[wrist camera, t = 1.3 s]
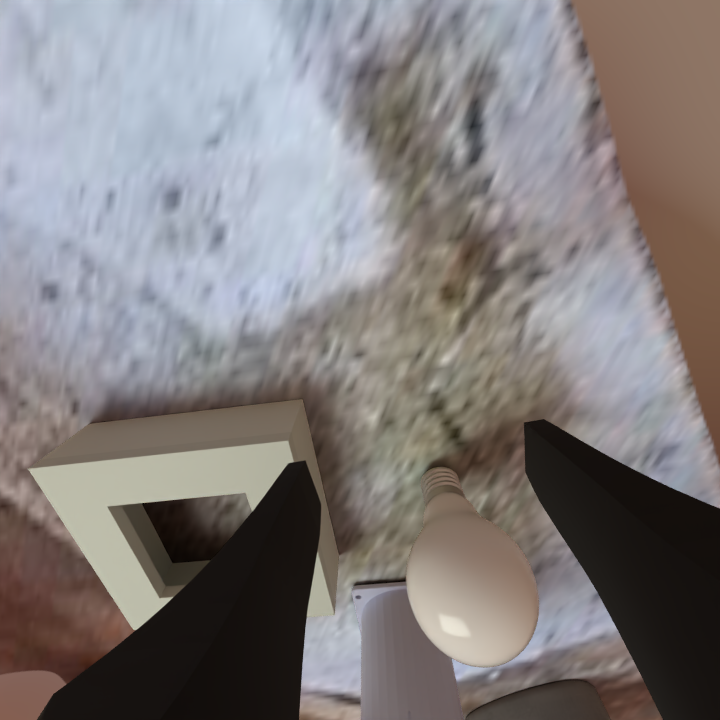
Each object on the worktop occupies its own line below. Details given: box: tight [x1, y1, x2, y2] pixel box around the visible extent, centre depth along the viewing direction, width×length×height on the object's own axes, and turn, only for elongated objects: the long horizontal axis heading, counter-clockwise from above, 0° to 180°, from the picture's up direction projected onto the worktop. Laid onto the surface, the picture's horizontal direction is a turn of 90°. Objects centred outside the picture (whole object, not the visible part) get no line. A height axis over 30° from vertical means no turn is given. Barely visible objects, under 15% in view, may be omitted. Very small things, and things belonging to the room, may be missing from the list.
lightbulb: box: [406, 467, 539, 667], centre depth 19 cm, size 6×6×11 cm
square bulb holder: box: [28, 399, 339, 630], centre depth 23 cm, size 15×15×4 cm
